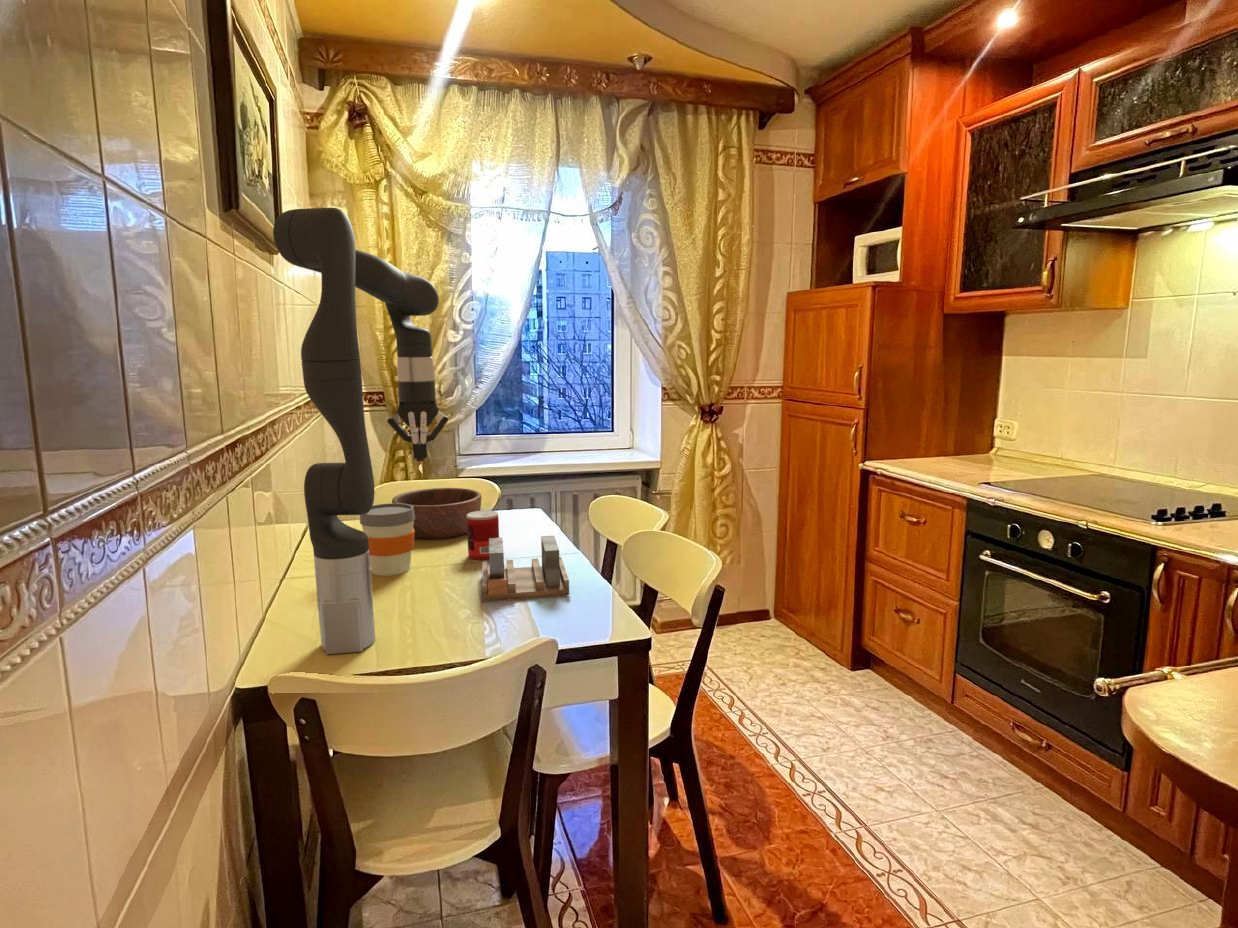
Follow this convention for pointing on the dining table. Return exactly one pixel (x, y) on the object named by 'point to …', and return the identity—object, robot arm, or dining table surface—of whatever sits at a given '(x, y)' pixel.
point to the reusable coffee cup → (389, 537)
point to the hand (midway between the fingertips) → (420, 460)
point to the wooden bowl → (440, 510)
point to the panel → (496, 558)
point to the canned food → (481, 532)
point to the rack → (529, 577)
